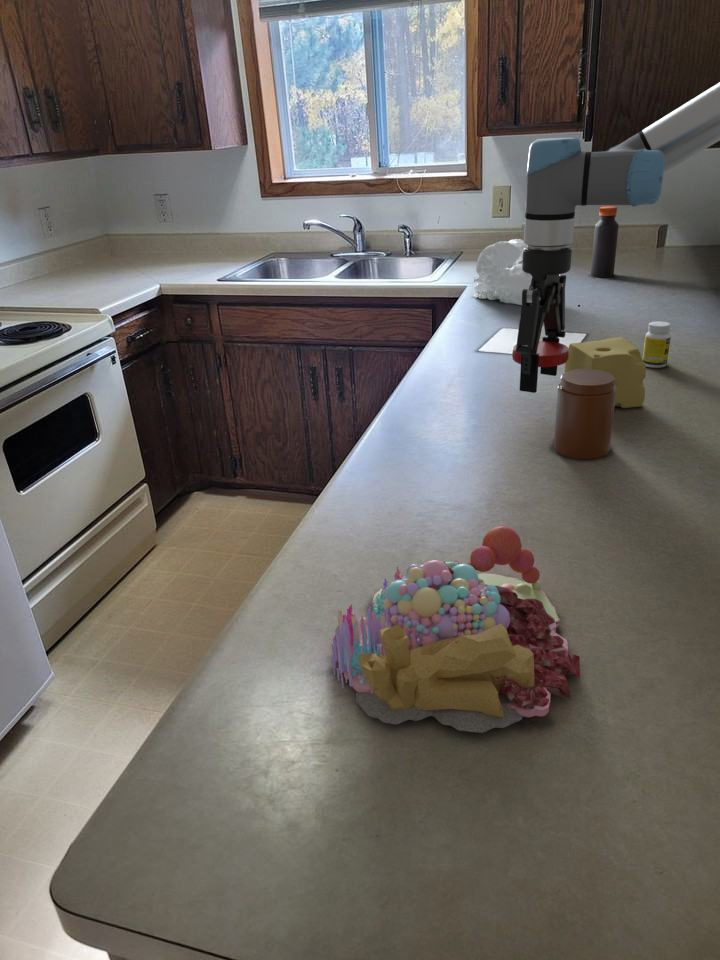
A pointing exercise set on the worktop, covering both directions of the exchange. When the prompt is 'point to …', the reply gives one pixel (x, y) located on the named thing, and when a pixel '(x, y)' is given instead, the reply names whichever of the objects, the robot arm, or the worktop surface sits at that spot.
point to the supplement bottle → (657, 344)
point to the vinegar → (605, 243)
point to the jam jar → (584, 413)
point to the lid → (547, 354)
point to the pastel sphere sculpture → (458, 643)
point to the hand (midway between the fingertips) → (538, 382)
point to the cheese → (613, 366)
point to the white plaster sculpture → (502, 272)
